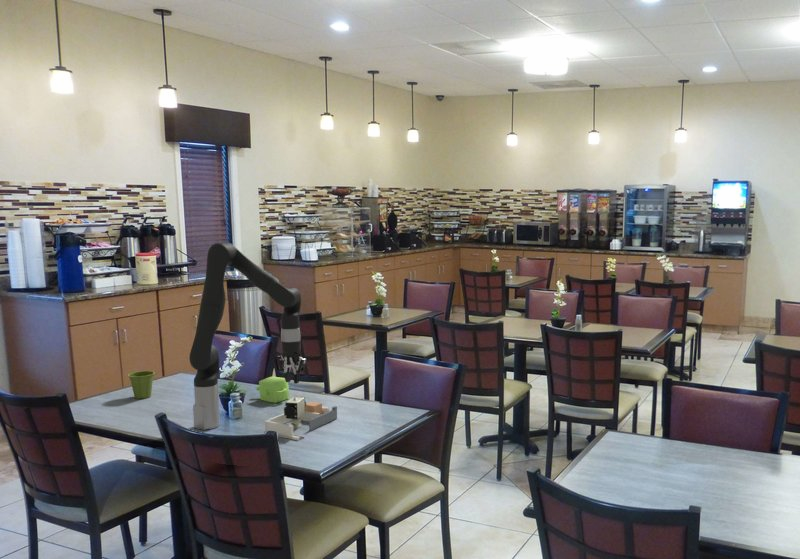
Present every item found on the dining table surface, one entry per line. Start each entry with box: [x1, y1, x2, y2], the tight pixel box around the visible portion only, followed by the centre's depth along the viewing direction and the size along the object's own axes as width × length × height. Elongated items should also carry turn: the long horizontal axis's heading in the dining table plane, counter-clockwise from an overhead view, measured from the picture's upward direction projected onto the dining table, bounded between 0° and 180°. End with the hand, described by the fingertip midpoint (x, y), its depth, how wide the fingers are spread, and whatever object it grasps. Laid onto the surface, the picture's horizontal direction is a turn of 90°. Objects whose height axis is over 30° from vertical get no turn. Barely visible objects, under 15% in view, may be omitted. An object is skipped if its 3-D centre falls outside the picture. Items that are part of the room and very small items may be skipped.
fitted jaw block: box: [305, 401, 323, 415], centre depth 280 cm, size 5×5×6 cm
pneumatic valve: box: [283, 396, 307, 429], centre depth 269 cm, size 6×12×12 cm, turn 167°
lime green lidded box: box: [256, 376, 290, 403], centre depth 313 cm, size 18×10×10 cm, turn 53°
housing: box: [264, 406, 330, 441], centre depth 273 cm, size 26×16×5 cm, turn 149°
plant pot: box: [127, 370, 156, 400], centre depth 321 cm, size 12×12×11 cm
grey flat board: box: [308, 405, 338, 431], centre depth 272 cm, size 17×1×5 cm, turn 149°
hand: (292, 382), depth 268 cm, fingers open, 3 cm apart
